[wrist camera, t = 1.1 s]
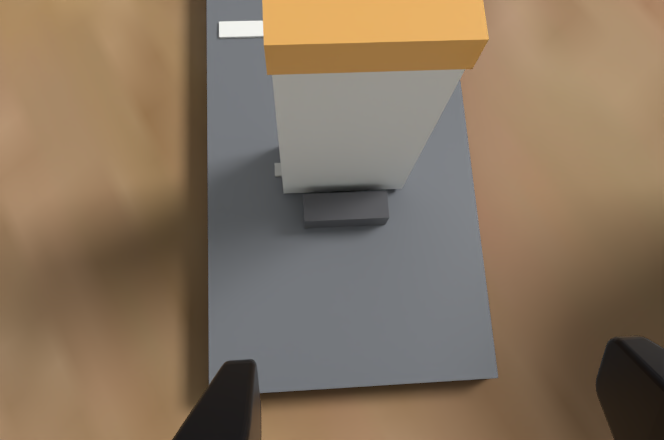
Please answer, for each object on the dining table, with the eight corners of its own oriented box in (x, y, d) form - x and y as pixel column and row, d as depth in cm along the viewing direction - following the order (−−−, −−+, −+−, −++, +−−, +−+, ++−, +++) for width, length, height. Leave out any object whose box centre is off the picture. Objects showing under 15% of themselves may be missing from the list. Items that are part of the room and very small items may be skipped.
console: (489, 378, 21) (508, 378, 20) (213, 395, 21) (204, 397, 19) (437, -42, 26) (448, -75, 24) (209, -38, 25) (202, -72, 24)
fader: (404, 191, 22) (488, 39, 12) (281, 196, 22) (263, 45, 12) (399, 136, 22) (475, -52, 13) (278, 140, 22) (260, -49, 12)
